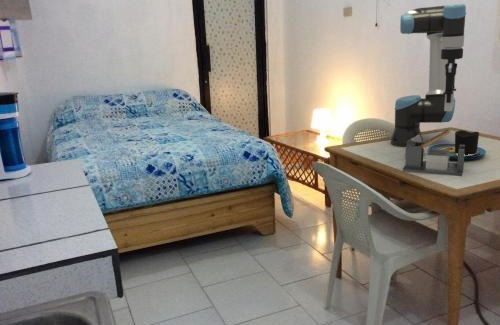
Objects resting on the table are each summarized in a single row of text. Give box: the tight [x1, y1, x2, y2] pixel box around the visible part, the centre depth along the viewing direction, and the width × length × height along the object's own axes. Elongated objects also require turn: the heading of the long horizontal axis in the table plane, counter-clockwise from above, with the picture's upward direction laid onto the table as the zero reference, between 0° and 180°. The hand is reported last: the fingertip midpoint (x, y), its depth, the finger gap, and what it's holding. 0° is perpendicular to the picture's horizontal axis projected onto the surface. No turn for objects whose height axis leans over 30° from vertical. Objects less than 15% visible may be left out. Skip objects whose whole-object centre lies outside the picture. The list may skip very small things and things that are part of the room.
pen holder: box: [454, 129, 480, 155], centre depth 193 cm, size 9×9×10 cm
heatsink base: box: [402, 141, 465, 177], centre depth 178 cm, size 22×13×10 cm, turn 63°
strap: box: [420, 128, 452, 149], centre depth 177 cm, size 15×4×1 cm
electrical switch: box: [406, 135, 426, 156], centre depth 196 cm, size 9×5×9 cm, turn 141°
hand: (448, 109), depth 170 cm, fingers open, 5 cm apart
